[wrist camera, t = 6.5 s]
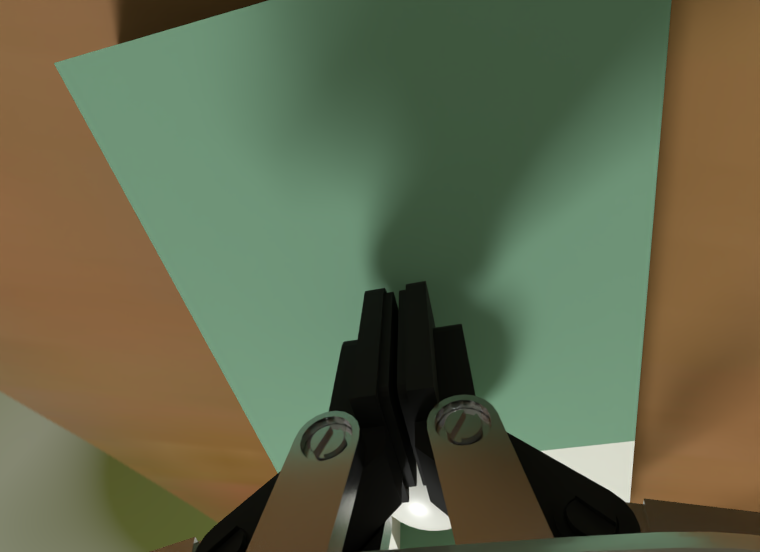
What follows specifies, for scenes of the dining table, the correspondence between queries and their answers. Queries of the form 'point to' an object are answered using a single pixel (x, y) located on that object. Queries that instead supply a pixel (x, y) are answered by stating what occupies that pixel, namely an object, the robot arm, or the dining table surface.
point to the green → (404, 197)
